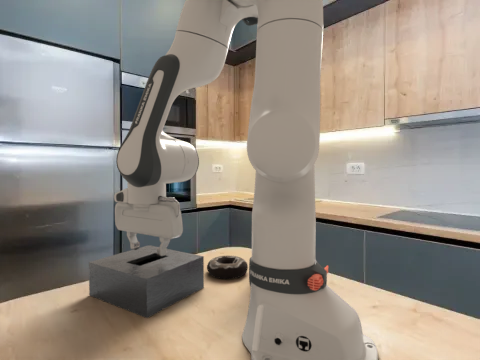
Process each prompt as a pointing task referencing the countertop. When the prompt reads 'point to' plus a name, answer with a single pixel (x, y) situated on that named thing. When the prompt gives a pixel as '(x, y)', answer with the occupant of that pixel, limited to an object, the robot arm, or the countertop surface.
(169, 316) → the countertop surface
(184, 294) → the post box
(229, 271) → the donut
